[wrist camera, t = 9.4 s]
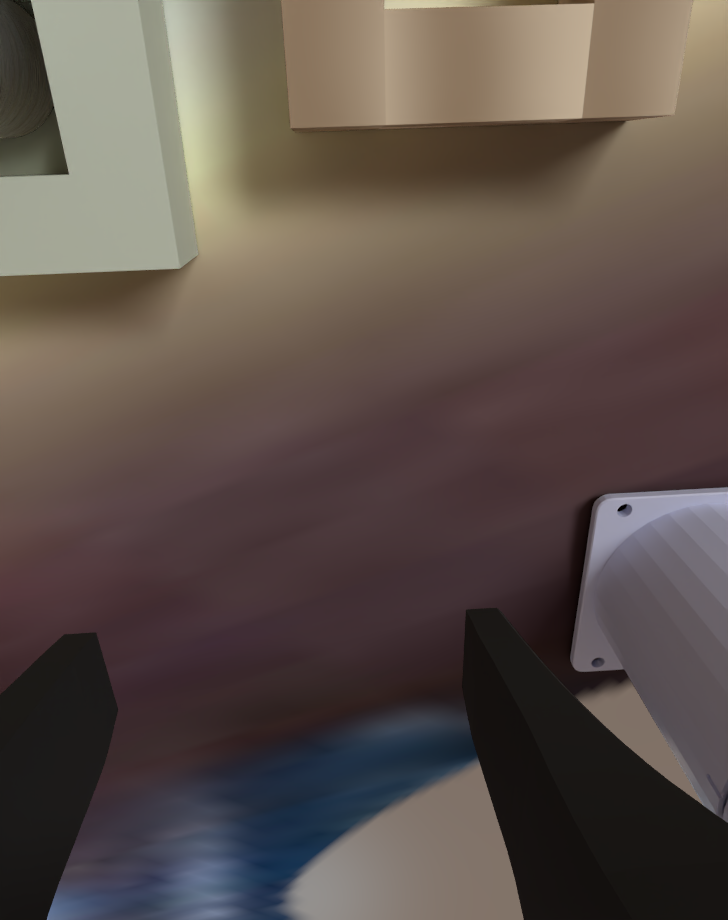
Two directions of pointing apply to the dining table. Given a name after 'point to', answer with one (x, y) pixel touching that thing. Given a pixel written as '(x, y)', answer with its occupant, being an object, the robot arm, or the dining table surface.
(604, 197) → the dining table surface
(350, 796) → the dining table surface
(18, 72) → the rod
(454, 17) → the socket block
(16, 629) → the dining table surface
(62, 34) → the block
